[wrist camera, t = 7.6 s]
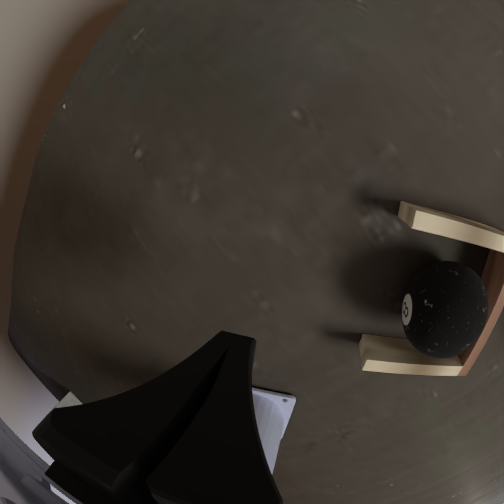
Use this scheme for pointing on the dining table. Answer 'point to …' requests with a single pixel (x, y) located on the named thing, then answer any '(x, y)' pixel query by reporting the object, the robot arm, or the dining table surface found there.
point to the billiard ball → (444, 309)
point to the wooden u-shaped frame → (493, 277)
